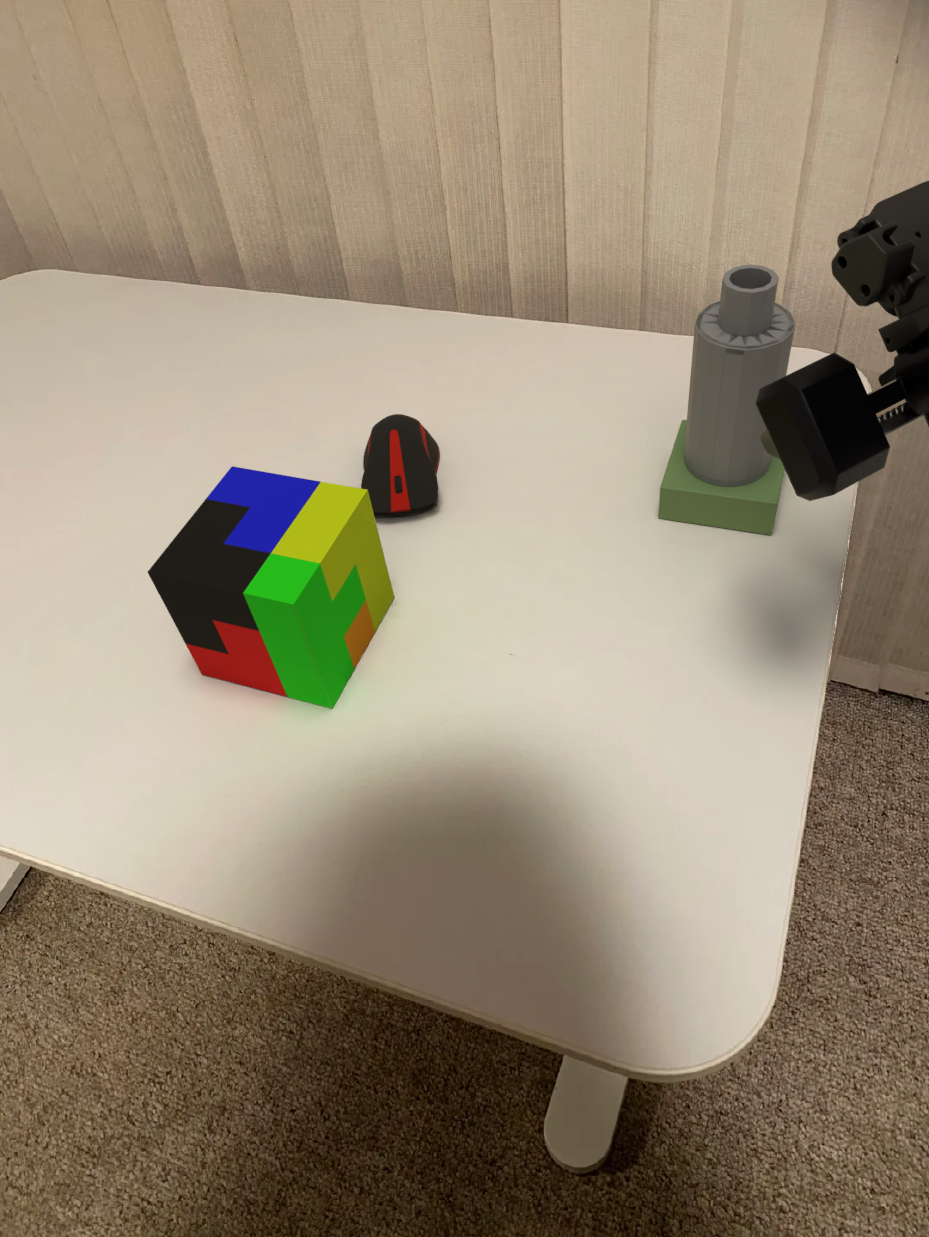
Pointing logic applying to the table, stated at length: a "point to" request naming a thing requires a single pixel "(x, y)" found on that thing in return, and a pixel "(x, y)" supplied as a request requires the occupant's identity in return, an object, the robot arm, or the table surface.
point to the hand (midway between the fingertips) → (825, 413)
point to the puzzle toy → (277, 583)
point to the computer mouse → (400, 467)
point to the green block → (718, 496)
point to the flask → (735, 377)
